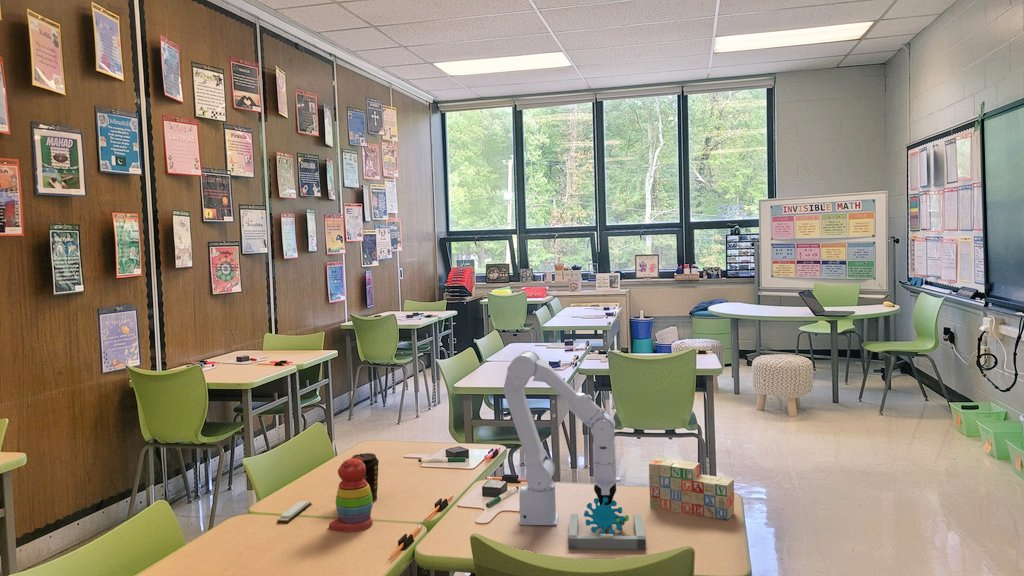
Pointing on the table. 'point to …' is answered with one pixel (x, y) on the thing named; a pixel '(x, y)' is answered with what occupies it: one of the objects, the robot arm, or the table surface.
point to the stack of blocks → (689, 489)
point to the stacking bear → (353, 498)
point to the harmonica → (293, 512)
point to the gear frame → (607, 537)
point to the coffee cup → (370, 472)
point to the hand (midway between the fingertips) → (605, 513)
